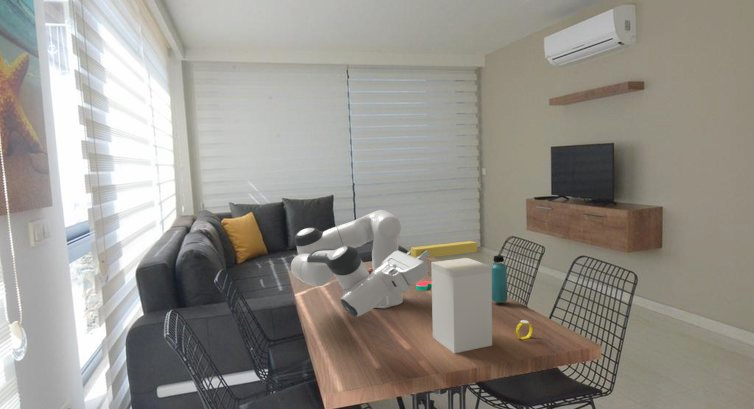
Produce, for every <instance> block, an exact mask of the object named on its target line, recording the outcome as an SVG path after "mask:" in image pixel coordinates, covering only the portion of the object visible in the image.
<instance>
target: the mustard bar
mask: <svg viewBox="0 0 754 409" xmlns="http://www.w3.org/2000/svg"><path fill="white" fill-rule="evenodd" d="M424 250H427V251H428V252H429V254H430V255H429V256H428V257H427V258H426V259H428V258H436V257H445V256H453V255H454V256H455V255H459V254H460V255H462V254H463V255H464V254H469V253H476V252H478V242H477V241H472V240H469V241H468V240H467V241H457V242H449V243H440V244H431V245H430V244H429V245H422V246H413V247H410V251H411V256H412V257H415V258H417V257H419V256H420V255H421V252H423V251H424Z"/></svg>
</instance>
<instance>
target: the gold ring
mask: <svg viewBox="0 0 754 409" xmlns="http://www.w3.org/2000/svg"><path fill="white" fill-rule="evenodd" d="M522 326H528V327H529V328H528V329H529V331H528V333H527V335H525V336H520V329H521V327H522ZM533 332H534V329H533V325H532V324H531V323H530V322H529V321H528V320H525V319H522V320H519V323H518V324H517V325H516V328H515V335H516V337H517V339H520V340H522V341H523V340H529V339H530V338H531V337H532V335H533Z"/></svg>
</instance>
